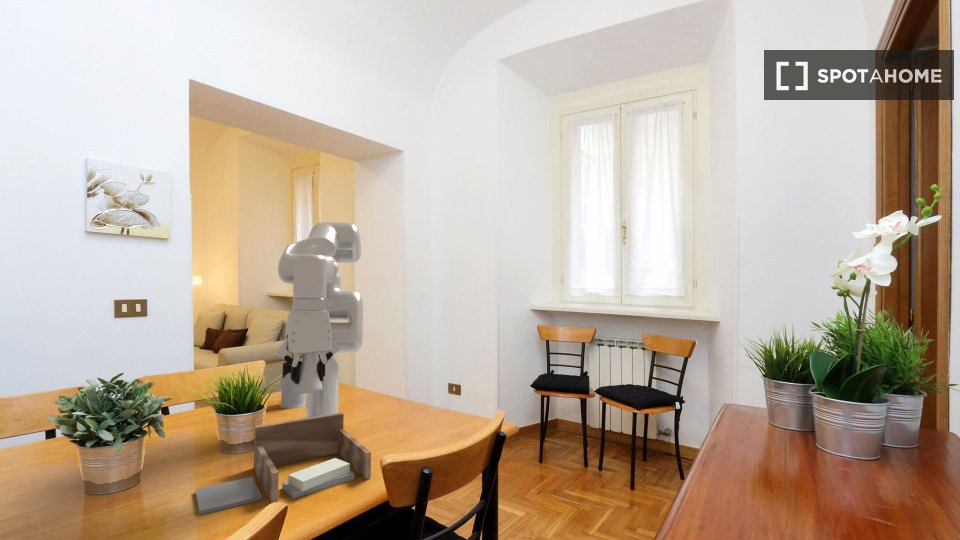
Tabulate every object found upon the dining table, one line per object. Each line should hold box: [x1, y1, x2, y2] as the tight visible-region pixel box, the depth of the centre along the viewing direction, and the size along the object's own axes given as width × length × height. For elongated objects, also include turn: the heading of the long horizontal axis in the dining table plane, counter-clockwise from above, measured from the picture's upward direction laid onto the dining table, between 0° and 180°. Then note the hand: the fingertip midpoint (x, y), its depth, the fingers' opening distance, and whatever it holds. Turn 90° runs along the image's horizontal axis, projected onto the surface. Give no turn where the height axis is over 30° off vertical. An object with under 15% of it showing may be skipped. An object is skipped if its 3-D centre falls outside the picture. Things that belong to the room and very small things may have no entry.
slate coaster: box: [194, 476, 263, 516], centre depth 96 cm, size 11×11×1 cm
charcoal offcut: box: [281, 470, 355, 499], centre depth 103 cm, size 6×14×2 cm, turn 134°
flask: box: [292, 353, 323, 394], centre depth 111 cm, size 7×7×10 cm
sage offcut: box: [287, 457, 351, 491], centre depth 103 cm, size 5×12×2 cm, turn 144°
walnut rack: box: [253, 412, 372, 504], centre depth 109 cm, size 21×21×10 cm
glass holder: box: [279, 360, 306, 409], centre depth 168 cm, size 9×14×15 cm, turn 25°
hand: (308, 380), depth 111 cm, fingers closed on flask, 4 cm apart
